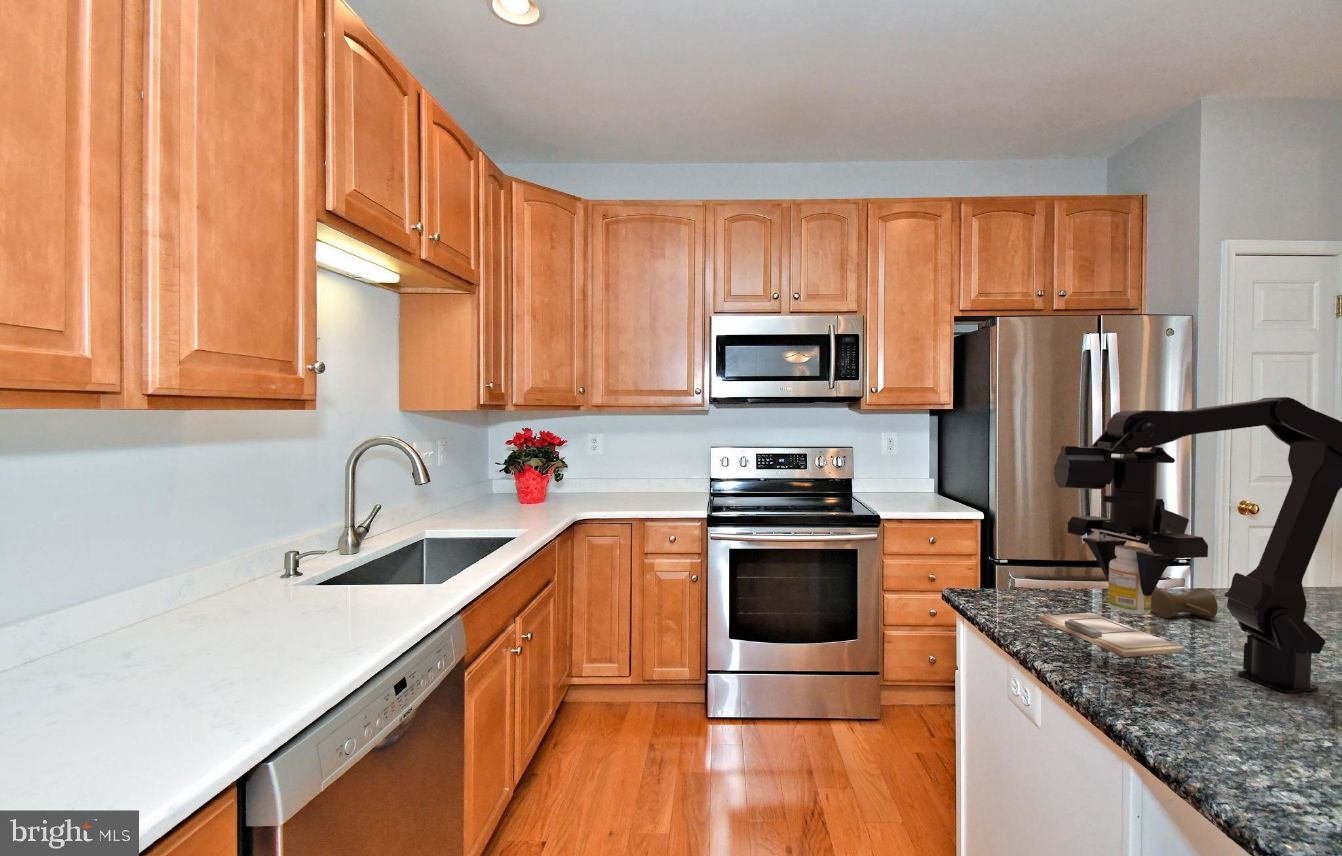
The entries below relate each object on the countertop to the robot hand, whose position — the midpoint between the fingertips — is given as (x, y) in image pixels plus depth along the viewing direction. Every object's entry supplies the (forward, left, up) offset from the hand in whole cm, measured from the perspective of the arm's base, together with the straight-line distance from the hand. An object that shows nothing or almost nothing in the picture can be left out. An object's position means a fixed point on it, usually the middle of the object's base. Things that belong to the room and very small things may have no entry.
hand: (1129, 589), depth 95 cm
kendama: (+23, -35, -13) cm, 44 cm away
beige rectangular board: (+13, -10, -12) cm, 21 cm away
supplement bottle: (0, 0, -3) cm, 3 cm away
